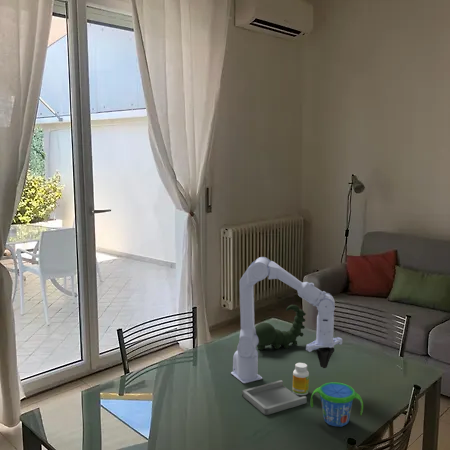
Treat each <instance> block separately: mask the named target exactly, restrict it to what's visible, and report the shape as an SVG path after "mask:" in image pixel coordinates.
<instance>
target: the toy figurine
mask: <svg viewBox="0 0 450 450" xmlns="http://www.w3.org/2000/svg"><path fill="white" fill-rule="evenodd" d="M291 310H292V311H293V312H295V316H294V317H293V318H294V319H293V322H292V326H291V327H290V329H289V330H287V331H285V330H280V329H278V328H275V327H274V326H273V325H272V324H271V323H270V322H269V323H268V322H265V321H264V322H260V323H258V324H257V325H255V329H256V335H257V337H258V339H259V342H258V345H257V346H256V348H257V349H258V350H260V351H263V350H264V349H265V348H266V347H267V346H270V345H271V346H273V348H274V349H275V350H279V349H280V348H281V347H284V349H285V350H286V349H289V347H290V344H292V345H294V346H296V345H298V341H297V338H298V337H299V336H300V337H303V336H304V333H303V332H302V330H304V329H305V325H304V324H303V323H304V322H306V318H304V317H305V316H306V315H307V313H306V312H305V311H304V310H303V309H302V308H300V307H299V306H298V305H297V304H290V305H288V306H287V307H286V309H285V311H286V312H288V311H291Z"/></svg>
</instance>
